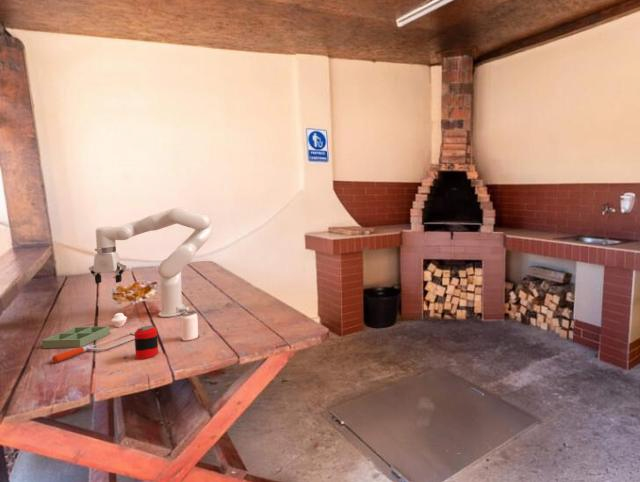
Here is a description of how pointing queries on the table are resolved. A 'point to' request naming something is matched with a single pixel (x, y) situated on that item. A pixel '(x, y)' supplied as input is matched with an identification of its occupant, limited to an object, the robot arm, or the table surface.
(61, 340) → the tray
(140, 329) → the soda can
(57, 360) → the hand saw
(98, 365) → the table surface
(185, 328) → the can
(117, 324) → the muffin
